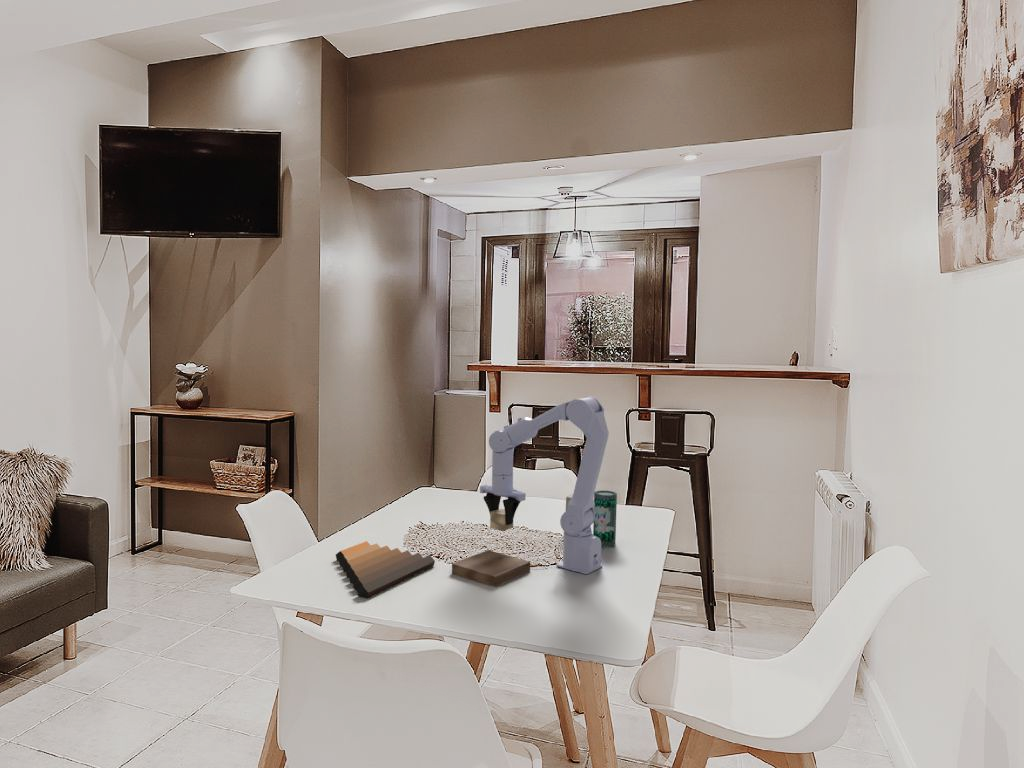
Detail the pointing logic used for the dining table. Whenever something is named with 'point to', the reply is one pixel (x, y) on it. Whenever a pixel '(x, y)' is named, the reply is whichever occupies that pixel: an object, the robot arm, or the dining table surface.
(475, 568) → the walnut base
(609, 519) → the can
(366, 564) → the pan flute
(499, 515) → the maple block
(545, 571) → the dining table surface
